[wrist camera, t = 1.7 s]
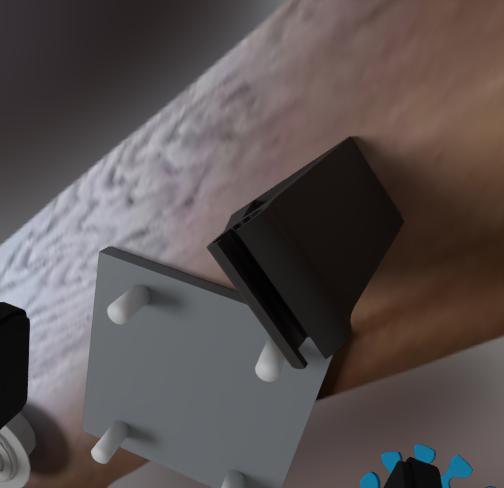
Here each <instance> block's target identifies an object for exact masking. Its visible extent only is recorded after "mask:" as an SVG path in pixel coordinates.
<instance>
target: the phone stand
mask: <svg viewBox="0 0 504 488" xmlns="http://www.w3.org/2000/svg"><path fill="white" fill-rule="evenodd" d="M403 223H404V220H403V219H402V217H401V215H400V214H399V212H398V211H397V209H396V207H395V206H394V204H393V203H392V201H391V200H390V198H389V196H388V195H387V193H386V192H385V190H384V188H383V187H382V185H381V184H380V182H379V181H378V179H377V177H376V176H375V174H374V173H373V171H372V169H371V168H370V166H369V165H368V163H367V162H366V160H365V158H364V157H363V155H362V154H361V152H360V150H359V149H358V147H357V146H356V144H355V143H354V141H353V139H352V138H351V136H350V137H348V138H346V139H345V140H343V141H342V142H340V143H339V144H337V145H336V146H334V147H333V148H331V149H330V150H328V151H327V152H325V153H324V154H322V155H321V156H319V157H318V158H316V159H315V160H313V161H312V162H310V163H309V164H307V165H306V166H304V167H303V168H301V169H300V170H298V171H297V172H295V173H294V174H292V175H291V176H290V177H288V178H287V179H285V180H283V181H282V182H280V183H279V184H277V185H276V186H274V187H273V188H271V189H270V190H268V191H267V192H265V193H264V194H262V195H261V196H259V197H258V198H256V199H255V200H253V201H252V202H250V203H249V204H247V205H246V206H244V207H243V208H241V209H240V210H238V211H237V212H235V213H234V214H233V215H231V217H230V220H229V222H228V224H227V226H226V228H225V230H224V232H223V233H222V234H221V235H220V236H219V237H217V238H216V239H215V240H214V241H213V242H211V243H210V244H209V245H208V246H207V249H208V250H209V251H210V253H211V254H212V256H213V257H214V258H215V260H216V261H217V263H218V264H219V265H220V267H221V268H222V270H223V271H224V272H225V274H226V275H227V277H228V278H229V279H230V281H231V282H232V284H233V285H234V287H235V288H236V289H237V291H238V292H239V294H240V295H241V296H242V298H243V299H244V301H245V302H246V303H247V305H248V306H249V308H250V309H251V310H252V312H253V313H254V315H255V316H256V317H257V319H258V320H259V322H260V323H261V324H262V326H263V327H264V329H265V330H266V331H267V333H268V334H269V336H270V337H271V339H272V340H273V341H274V343H275V344H276V346H277V347H278V348H279V350H280V351H281V353H282V354H283V355H284V357H285V358H286V360H287V361H288V362H289V364H290V365H291V366H292V367H293V368H295V369H305V368H306V366H307V365H308V363H307V361H306V360H305V358H304V357H303V355H302V354H301V353H300V351H299V350H298V349H299V347H300V346H301V345H302V344H303V342H304V341H305V340H306V338H308V337H310V338H311V340H312V341H313V342H314V344H315V345H316V347H317V348H318V350H319V351H320V352H321V354H322V355H323V357H324V358H325V360H326V359H327V358H329V357H330V356H332V355H333V354H334V353H335V352H337V351H338V350H339V349H340V348H341V347H342V346H343V344H344V343H345V342H346V341H347V339H348V338H349V336H350V333H351V329H352V327H351V322H350V318H351V313H352V311H353V308H354V306H355V305H356V303H357V301H358V300H359V298H360V296H361V294H362V293H363V291H364V289H365V288H366V286H367V284H368V283H369V281H370V279H371V277H372V276H373V274H374V272H375V271H376V269H377V267H378V265H379V264H380V262H381V260H382V259H383V257H384V255H385V254H386V252H387V250H388V248H389V247H390V245H391V243H392V242H393V240H394V238H395V237H396V235H397V233H398V231H399V230H400V228H401V226H402V225H403Z"/></svg>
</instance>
